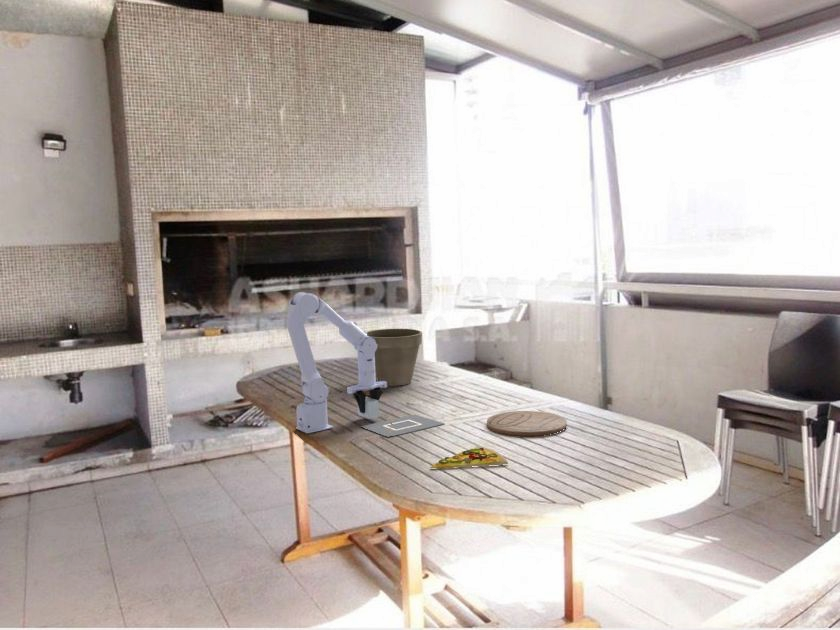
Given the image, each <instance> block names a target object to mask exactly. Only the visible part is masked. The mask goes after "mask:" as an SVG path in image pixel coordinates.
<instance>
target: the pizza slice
mask: <svg viewBox="0 0 840 630" xmlns="http://www.w3.org/2000/svg"><path fill="white" fill-rule="evenodd" d="M503 464H508V465H509V462H508V459H506V457H504V456H503V455H502V454H501V453H499V452H498V451H497V450H496V451H495V450H494V449H491V448H489V447H484V446H476V447H474V448H470V449H467V450H463V451H461V452H459V453H457V454H455V455H452V456H451V457H449V456H447V457H446V456H445V457H444V459H443V458H442V459H441V458H440V459H439V460H438V462H436V463H434V465H432V466H430V467H429V469H430V468H454V467H472V466H489V465H503Z"/></svg>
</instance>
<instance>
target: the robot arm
mask: <svg viewBox="0 0 840 630" xmlns="http://www.w3.org/2000/svg"><path fill="white" fill-rule="evenodd" d="M288 304H289V306H288V307H289V308H288V311H287V315H286V316H287V317H286V319H285V320H286V321H285V324H286V327H287V331H288V334H289V337H290V341H291V344H292V347H293V350H294V353H295V357H296V359H297V360H296V361H297V364H298V367H299V370H300V373H301V377H300V379H301V392H302V394H303V396H304V398H303V399H304V400H303V402H302V403H300V404H297V406H296V414H295V415H296V430H299V431H301V432H303V433H305V434H311V433H315V432H320V431H325V430H330V429H333V428H334V426H333V425H331V424H328V423H329V421H328V420H329V419H328V401H327V400H328V399H327V398H328V397H329V393H330V391H329V387H328V386H327V385H326V384H325V382H324V381H323V377H322V376H321V375H320V373H319V371H318V369H317V364H316V362H315V359H314V355H313V351H312V349H311V345H310V341H309V338H308V336H307V335H308V334H307V332H306V328H305V324H306V322H307V320H308V319H309V318H310V317H311V316H312V315H313V314H314V313H315V314H318V315H321V316H322V317H323V318H324V319H326V320H327V321H329V322H330V323H331V324H333V325H334V326H335V327H336V328H338V332H339V335H340V336H341V337H342V338H344V339H345V340H346V341H347V342H348V343H349V344H351V345H352V346H354V349H355V350H356V351H357V374H358V375H357V377H358V379H357V380H358V383H357V384H355V385H352V386H348V387H346V393H347V394H349V395H352V396H353V398H354V399H355V401H356V403H358V404H357V407H358V406H359V410H360V412H361V413H365V399H366V397H367V396H366V394H365V393H364V391H367V390H369V393H370V396H369V397H370V398H372V399H375V400H379V401H380V399H381V397H382V394H383V389H384V388H388V386H387V382H385V381H380V382H376V376H375V351H376V349H377V344H376V341H375V340H374V339H373V338H372V337H369V336H367V332H368V331H366V330H364V331H363V329H362V328H360V327H359V326H358V323H357V321H352V320H345V319H344V318H343V317H342V316H341V315H339V314H338V312H336V311H335V310H334V309H333V308H332V307H331V306H330V305H329V304H328V303H326V302H325V301H324V300H323V299H322V298H320V297H318V296H317V295H315V293H311V292H310V293H307V292H305V291H299V292H297V293H295V294H294V295H293V296H292V298H291V299H290V300H289V302H288ZM382 388H383V389H382Z"/></svg>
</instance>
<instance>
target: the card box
mask: <svg viewBox="0 0 840 630" xmlns="http://www.w3.org/2000/svg"><path fill="white" fill-rule="evenodd" d="M379 401H380V399H379V400H375V399H372V398H370V396H366V399H365V413H361V412H360V410H359V406H358V403H357V402H356V403H357V415H358V416H359V417H360V416H361V417H362V418H366V419H369V420H371V419H374V418H375V419H376V418H379V417H380V405H379V404H380V403H379Z"/></svg>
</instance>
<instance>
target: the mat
mask: <svg viewBox="0 0 840 630" xmlns="http://www.w3.org/2000/svg"><path fill="white" fill-rule="evenodd" d="M391 420H393V421H391ZM390 421H391V423H392V424H393V425H392V426H390V425H391V423H390ZM444 425H445V423H444V422H441V421H438V420H434V419H432V418H429V417H425V416H422V415H419V414H411V415H407V416H402V417H397V418H393V419H388V420H384V421H379V422H374V423H370V424H365V425H362V426H360V428H361V427H363V428H365V429H364V430H366V427H367V429H368V430H367V431H369V430H371V431H373V432H372V433H374V432H376V433H378V434H377V435H379V434H381V435H380V436H382V435H385V436H387V435H388V436H390V435H389V434H391V435H393V436H394V437H397V436H396V435H398V436H402V434H403V435H406V433H407V434H410V433H414V431H415V432H418V431H423V430H427V429H431V428H436V427H439V426H444ZM391 427H393V428H391ZM363 428H362V429H363ZM372 428H373V429H372ZM390 428H391V429H392V430H393V431H391V430H390ZM387 429H388V430H387ZM384 430H385V431H384ZM371 431H370V432H371ZM389 431H391V433H390V432H389ZM376 433H375V434H376ZM388 436H387V437H388ZM387 437H386V438H387Z"/></svg>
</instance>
